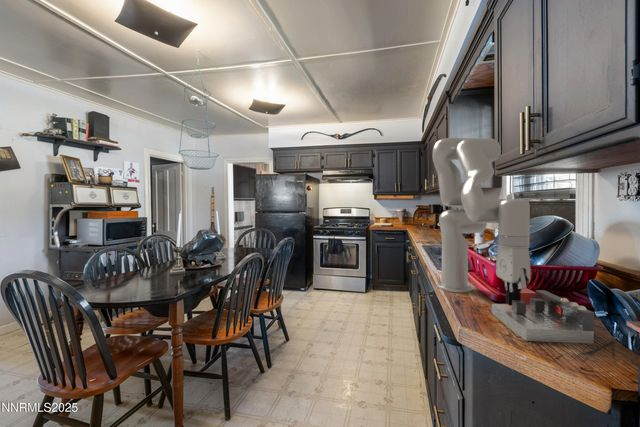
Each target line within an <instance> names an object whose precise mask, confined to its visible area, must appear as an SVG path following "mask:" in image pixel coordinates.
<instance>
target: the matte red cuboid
mask: <svg viewBox="0 0 640 427" xmlns="http://www.w3.org/2000/svg"><path fill="white" fill-rule="evenodd" d="M530 298H536V291H534V290H531V289H530V288H527V287H526V289H522V292H521V300H522V301H523V302H525V303H526V305H530Z"/></svg>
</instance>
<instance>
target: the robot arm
mask: <svg viewBox="0 0 640 427" xmlns="http://www.w3.org/2000/svg"><path fill="white" fill-rule="evenodd" d="M501 152H502V150H501V145H500V143H499V142H498V140H496V139H494V138H491V137H490V138H488V137H487V138H486V137H485V138H484V137H481V138H479V137H474V138H473V137H445V138H441V139H439V140H437V141H436V142H435V144H434V145H433V148H432V162H433V165H434V168H435V170H436V174H437V179H438V187H439V188H438V189H439V197H440V202H441V203H442V205H444V206H446V207H451V208H452V209H446V210H444V211H442V212H441V213H440V214H439V218H438V220H439V221H438V224H439V230H440V237H441V281H440V282H438V283H437V288H438V289H440V290H443V291H446V292H450V293H459V294H464V293H470V292H472V291H473V286H471V285H470V284H469V282H468V281H469V266H468V265H469V245H468V242H467V240H466V239H465V238H466V237H464V235H463V234H480V233H482V232H484V231H485V230H486V228H487V225H488V224H498V225H497V226H498V231H497V232H498V234H497V235H498V242H497V244H498V245H497V252H496V262H495V263H496V264H495V265H496V266H495V275H496V277H498V278H499V279H501V280H502V281H503V282H504V288H505V304H508V305H510V306H512V300H521V292H522V289H526V288H527V284H529V283H530V281H531V257H530V251H529V249H530V235H531V234H530V230H531V227H530V226H531V224H530V222H531V220H530V218H531V213H530V212H531V210H530V209H531V206H530V202H529V200H527V199H521V198H518V199H517V198H516V199H515V198H513V199H512V198H511V199H508V198H507V199H505V198H500V199H498V198H485V196H484V192H483V189H482V187H481V186H480V185H482V184H484V183H486V182H488V181H489V180H490V179H491V178H492V177H493V176H494V174H495V168H494V167H493V165H492V163H493V162H495V161H497V160H498V159H499V158H500V155H501ZM453 160H458V161H459V163H460V165H461V168H462V170H463V173H464V175H465V178H466V180H465V182H463V181H462V175H461V174H462V173H461V171H460V169H459V168H458V166H457V165H456V164H455V163H454V162H453ZM453 207H459V208H460V207H461V208H460V209H459V208H457V209H455V208H454V209H453Z"/></svg>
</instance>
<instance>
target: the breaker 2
mask: <svg viewBox="0 0 640 427" xmlns="http://www.w3.org/2000/svg"><path fill="white" fill-rule="evenodd" d="M544 308H545V301H543V300H541V299H539V298H530V309H532V310H534V311H537V312H544Z"/></svg>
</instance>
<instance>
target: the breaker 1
mask: <svg viewBox="0 0 640 427" xmlns="http://www.w3.org/2000/svg"><path fill="white" fill-rule="evenodd" d="M512 311H514V312H515V313H517V314H526V303H525V302H523V301H522V300H512Z"/></svg>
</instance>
